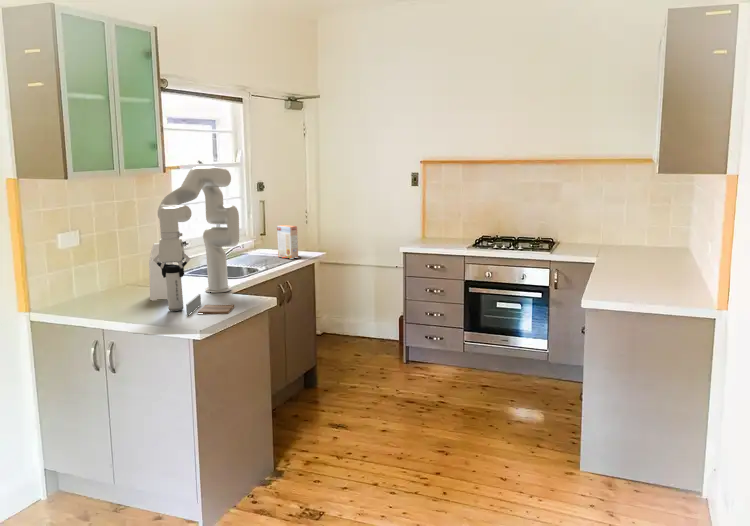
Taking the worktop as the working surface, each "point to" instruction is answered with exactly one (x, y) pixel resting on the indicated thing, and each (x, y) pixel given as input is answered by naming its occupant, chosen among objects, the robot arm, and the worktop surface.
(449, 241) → the worktop surface
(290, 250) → the cracker box
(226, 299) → the worktop surface
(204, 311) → the walnut board
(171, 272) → the travel mug
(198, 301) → the acrylic wall
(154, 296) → the milk
